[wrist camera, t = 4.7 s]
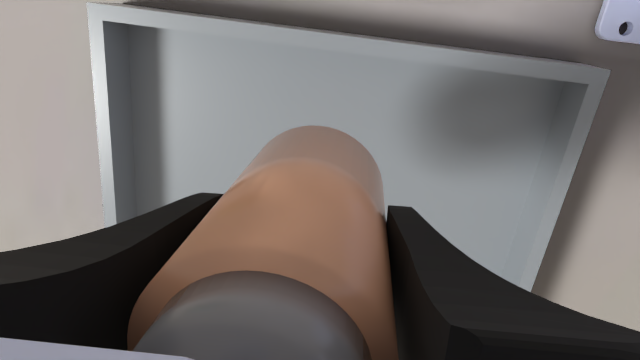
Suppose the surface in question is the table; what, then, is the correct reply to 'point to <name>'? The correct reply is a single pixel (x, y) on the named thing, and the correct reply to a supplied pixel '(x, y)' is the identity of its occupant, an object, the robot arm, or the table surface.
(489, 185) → the tray
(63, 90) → the table surface
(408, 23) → the table surface
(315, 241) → the shaker
